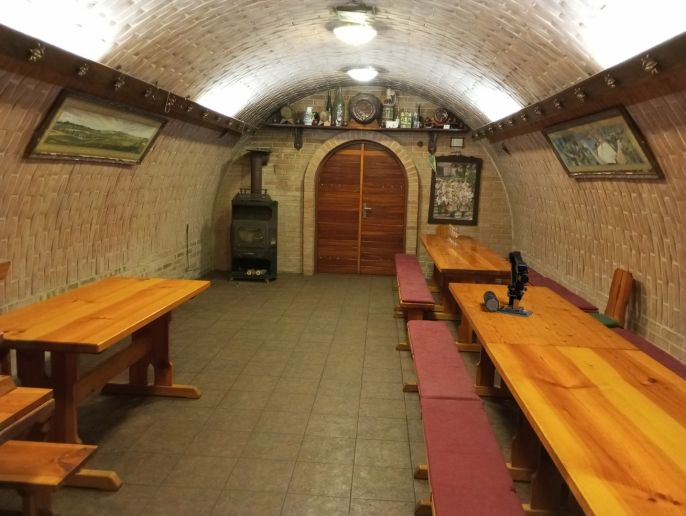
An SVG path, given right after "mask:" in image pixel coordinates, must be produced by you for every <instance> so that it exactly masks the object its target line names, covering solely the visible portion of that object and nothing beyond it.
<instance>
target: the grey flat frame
mask: <svg viewBox="0 0 686 516" xmlns="http://www.w3.org/2000/svg"><path fill="white" fill-rule="evenodd" d="M503 307H505V305H501V306H499V307H498V308H497V309H496V310H497V311H503V312H510V313H516V314H522V315H527V313H520V312H514V311H508V310H502V309H501V308H503Z"/></svg>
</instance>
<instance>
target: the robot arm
mask: <svg viewBox="0 0 686 516" xmlns="http://www.w3.org/2000/svg"><path fill="white" fill-rule="evenodd" d="M521 254H522V252H521V250H519V251H517V250H514V251H512V252H511V251H510V252H509V253H508V254H507V259H508V263H509V264H510V283H508V284H507V287H506V288H507V289H508V290H507V292H506V297H508V303H506V305H508V306H510V305H514V299H516V300H519V303H521V301H522V299H523V297H524V295H525V293H526V292H528V287H526V286H525V285H526V284H528V283H529V280H530V278H529V276H527V275H529V273H530V269H529V266H528V264H527V262H526V261H524V259H523V257H522V255H521Z"/></svg>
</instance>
